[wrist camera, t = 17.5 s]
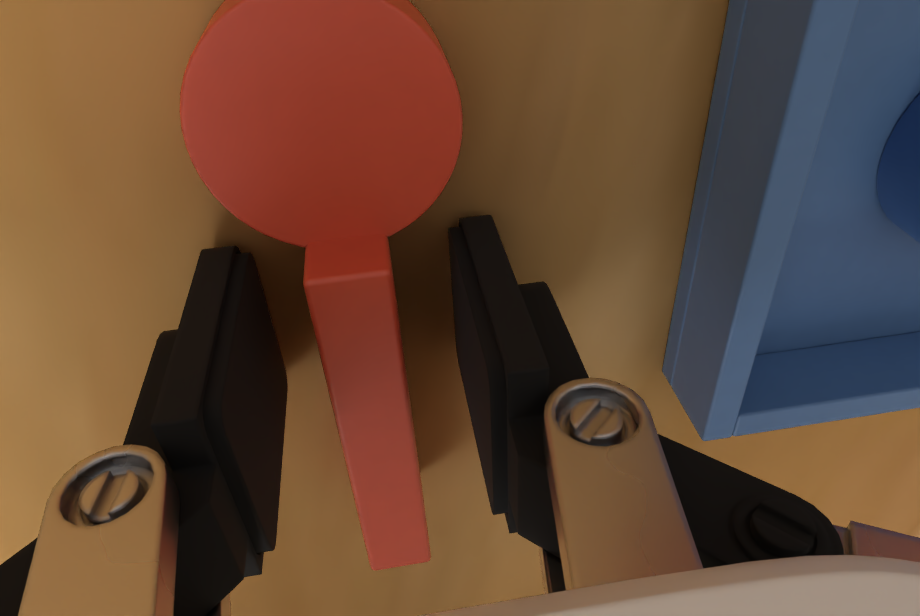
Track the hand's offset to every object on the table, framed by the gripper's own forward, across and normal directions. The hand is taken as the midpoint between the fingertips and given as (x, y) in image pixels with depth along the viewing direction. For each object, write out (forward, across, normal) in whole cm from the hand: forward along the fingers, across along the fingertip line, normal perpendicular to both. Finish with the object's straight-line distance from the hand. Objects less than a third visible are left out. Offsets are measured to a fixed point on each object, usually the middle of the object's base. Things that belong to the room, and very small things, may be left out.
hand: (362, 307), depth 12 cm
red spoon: (0, 0, 0) cm, 0 cm away
